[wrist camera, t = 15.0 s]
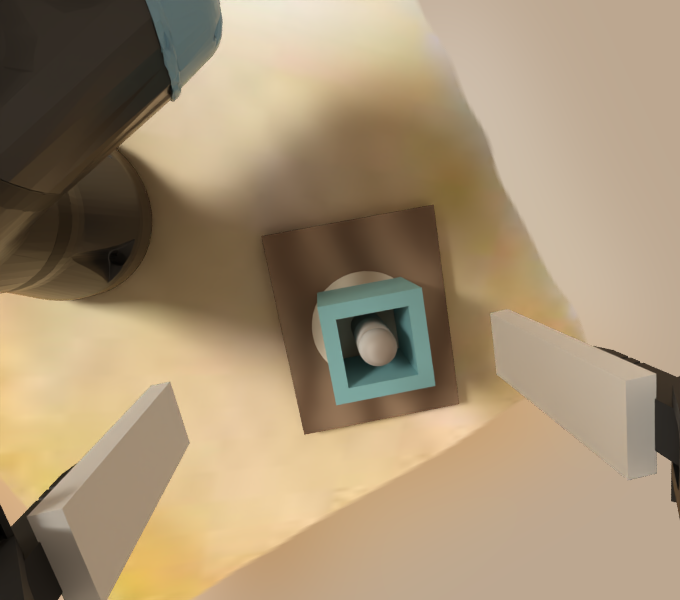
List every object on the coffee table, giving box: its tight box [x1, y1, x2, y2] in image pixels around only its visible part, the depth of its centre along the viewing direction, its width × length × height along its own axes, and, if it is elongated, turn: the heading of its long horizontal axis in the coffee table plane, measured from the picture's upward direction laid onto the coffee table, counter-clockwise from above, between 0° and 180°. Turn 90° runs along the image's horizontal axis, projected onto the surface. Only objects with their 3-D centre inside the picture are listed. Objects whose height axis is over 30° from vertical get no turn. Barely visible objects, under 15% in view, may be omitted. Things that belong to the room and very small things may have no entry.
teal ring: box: [317, 277, 435, 405], centre depth 32 cm, size 8×8×7 cm
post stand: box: [262, 205, 459, 435], centre depth 32 cm, size 16×20×10 cm
